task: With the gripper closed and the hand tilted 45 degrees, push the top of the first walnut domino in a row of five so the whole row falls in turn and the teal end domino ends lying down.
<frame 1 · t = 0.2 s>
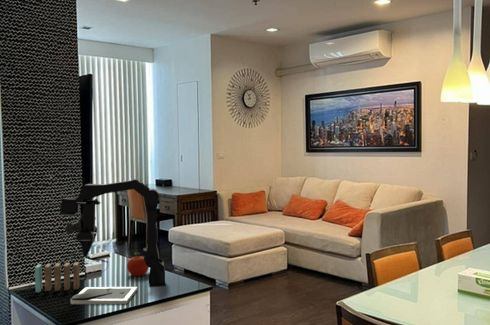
hand: (86, 253, 190), 14 cm above the kitchen counter, tool pointing down, fingers open, 9 cm apart
fruit: (138, 275, 210), on the kitchen counter
domino 1: (76, 287, 192), on the kitchen counter
domino 2: (67, 288, 192), on the kitchen counter
domino 3: (58, 289, 191), on the kitchen counter
domino 5: (39, 290, 189), on the kitchen counter
domino 4: (48, 289, 190), on the kitchen counter
picture frame: (105, 299, 180), on the kitchen counter
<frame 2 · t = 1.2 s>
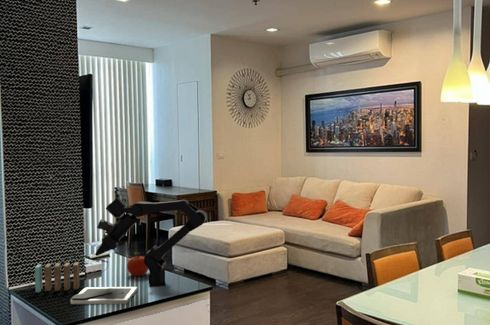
hand: (96, 253, 194), 14 cm above the kitchen counter, tool tilted 45°, fingers open, 5 cm apart
nothing on the kitchen counter moved.
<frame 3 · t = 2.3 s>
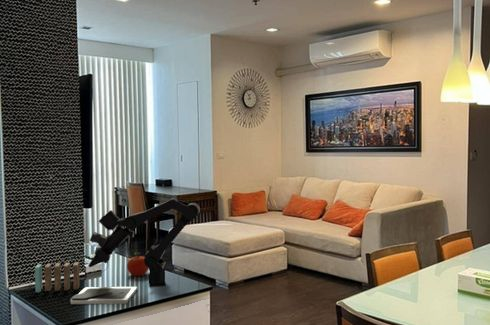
hand: (89, 266, 193), 8 cm above the kitchen counter, tool tilted 45°, fingers closed
nothing on the kitchen counter moved.
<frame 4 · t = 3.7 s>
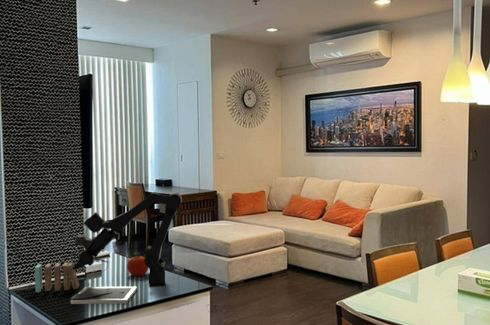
hand: (73, 268, 192), 8 cm above the kitchen counter, tool tilted 45°, fingers closed
domino 1: (76, 287, 192), on the kitchen counter, tilted 14°
everything else where it was.
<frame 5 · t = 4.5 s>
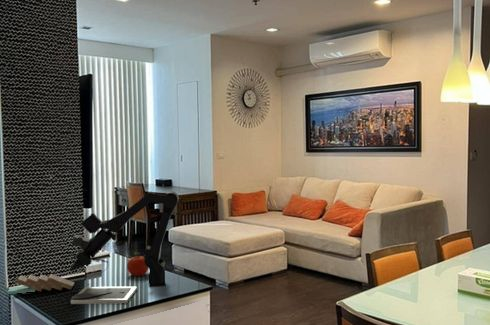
hand: (71, 269, 192), 8 cm above the kitchen counter, tool tilted 45°, fingers closed
domino 1: (72, 286, 192), point 1 cm above the kitchen counter, tilted 64°, touching domino 2
domino 2: (62, 286, 191), point 1 cm above the kitchen counter, tilted 64°, touching domino 1, domino 3
domino 3: (52, 287, 190), point 1 cm above the kitchen counter, tilted 64°, touching domino 2, domino 4
domino 5: (36, 289, 189), on the kitchen counter, tilted 90°, touching domino 4
domino 4: (42, 288, 190), point 1 cm above the kitchen counter, tilted 64°, touching domino 3, domino 5
everything else where it was.
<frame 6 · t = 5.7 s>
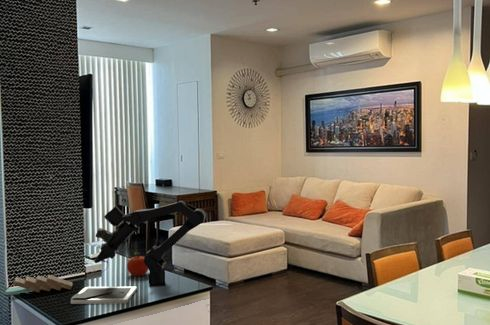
hand: (95, 262, 194), 10 cm above the kitchen counter, tool tilted 45°, fingers closed
domino 5: (34, 289, 189), on the kitchen counter, tilted 90°
domino 4: (40, 288, 189), point 1 cm above the kitchen counter, tilted 65°, touching domino 3
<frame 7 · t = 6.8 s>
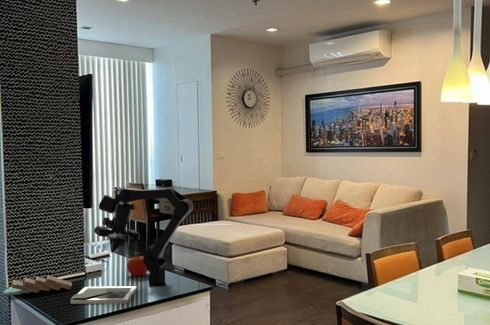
hand: (112, 252, 198), 13 cm above the kitchen counter, tool tilted 15°, fingers closed
domino 5: (32, 290, 188), on the kitchen counter, tilted 90°, touching domino 4
domino 4: (38, 288, 188), point 1 cm above the kitchen counter, tilted 70°, touching domino 3, domino 5
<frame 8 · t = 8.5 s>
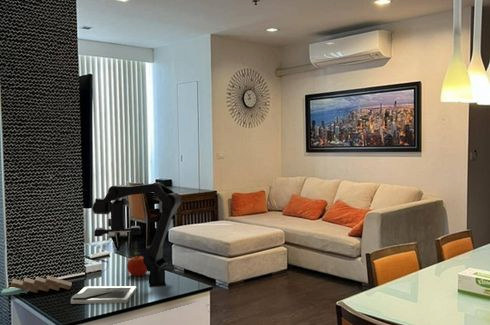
hand: (118, 251, 200), 13 cm above the kitchen counter, tool pointing down, fingers closed
domino 3: (49, 287, 190), point 1 cm above the kitchen counter, tilted 67°, touching domino 2, domino 4
at the end: domino 5 tilted 90°; domino 1 tilted 67° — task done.
